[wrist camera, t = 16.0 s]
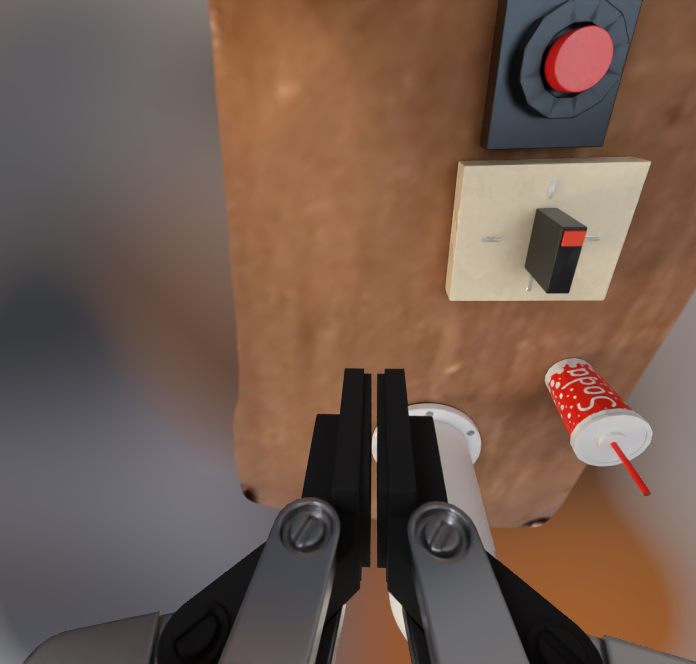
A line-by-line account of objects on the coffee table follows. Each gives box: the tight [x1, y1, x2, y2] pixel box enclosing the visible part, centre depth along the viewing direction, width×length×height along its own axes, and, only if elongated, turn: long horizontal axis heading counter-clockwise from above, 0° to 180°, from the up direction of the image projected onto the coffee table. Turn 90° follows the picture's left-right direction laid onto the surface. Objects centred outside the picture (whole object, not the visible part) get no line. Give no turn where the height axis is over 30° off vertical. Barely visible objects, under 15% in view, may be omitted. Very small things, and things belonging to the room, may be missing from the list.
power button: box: [544, 25, 614, 93], centre depth 23 cm, size 3×3×2 cm
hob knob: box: [524, 208, 587, 294], centre depth 29 cm, size 5×2×5 cm, turn 2°
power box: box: [480, 0, 643, 150], centre depth 26 cm, size 10×8×4 cm
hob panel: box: [445, 156, 651, 301], centre depth 32 cm, size 11×13×3 cm
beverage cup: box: [545, 358, 653, 496], centre depth 35 cm, size 6×6×14 cm
